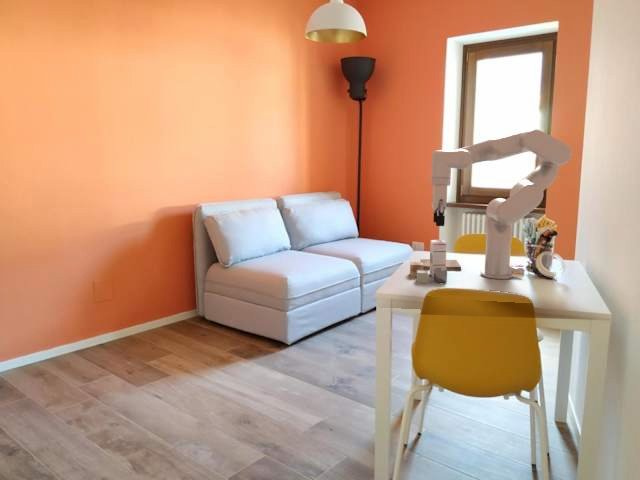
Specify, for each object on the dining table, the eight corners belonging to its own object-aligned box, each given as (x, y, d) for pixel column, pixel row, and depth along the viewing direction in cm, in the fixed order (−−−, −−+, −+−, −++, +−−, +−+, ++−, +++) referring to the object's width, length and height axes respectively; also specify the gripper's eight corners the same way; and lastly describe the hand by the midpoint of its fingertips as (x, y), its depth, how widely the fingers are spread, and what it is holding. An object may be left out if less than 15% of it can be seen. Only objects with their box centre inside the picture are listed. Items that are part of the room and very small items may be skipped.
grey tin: (445, 280, 206) (446, 268, 205) (447, 283, 201) (448, 271, 200) (433, 280, 206) (433, 267, 206) (434, 283, 202) (434, 270, 201)
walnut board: (456, 263, 236) (456, 259, 235) (461, 270, 222) (461, 266, 222) (420, 262, 237) (420, 259, 237) (423, 269, 224) (423, 266, 224)
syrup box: (446, 277, 211) (447, 242, 208) (431, 277, 211) (432, 242, 208) (443, 273, 216) (444, 239, 214) (428, 273, 216) (430, 239, 214)
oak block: (422, 274, 217) (422, 262, 216) (423, 277, 212) (423, 265, 211) (409, 273, 217) (410, 262, 216) (410, 276, 212) (411, 264, 211)
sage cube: (426, 280, 206) (427, 270, 206) (427, 283, 202) (428, 273, 202) (416, 280, 207) (416, 270, 206) (417, 282, 203) (417, 272, 202)
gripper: (429, 180, 215) (427, 220, 219) (433, 183, 199) (431, 227, 202) (447, 180, 215) (445, 221, 218) (453, 183, 198) (451, 227, 201)
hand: (438, 224), depth 210 cm, fingers open, 9 cm apart
